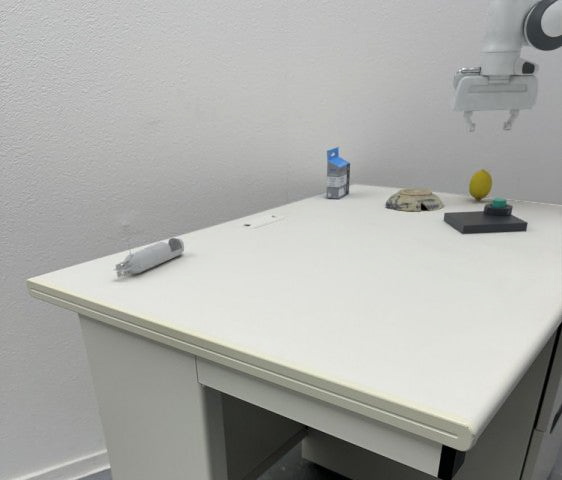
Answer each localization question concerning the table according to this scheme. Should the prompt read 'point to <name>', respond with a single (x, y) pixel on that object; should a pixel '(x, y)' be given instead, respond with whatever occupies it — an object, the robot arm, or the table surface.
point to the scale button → (499, 203)
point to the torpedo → (150, 257)
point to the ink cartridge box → (337, 175)
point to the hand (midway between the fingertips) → (488, 130)
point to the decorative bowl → (414, 200)
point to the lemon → (480, 184)
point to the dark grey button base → (486, 220)
